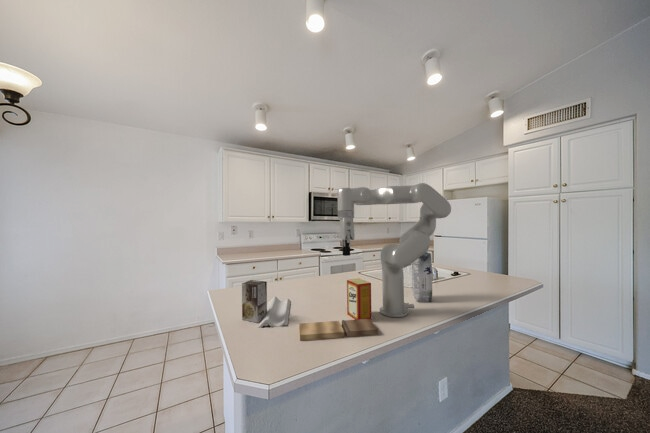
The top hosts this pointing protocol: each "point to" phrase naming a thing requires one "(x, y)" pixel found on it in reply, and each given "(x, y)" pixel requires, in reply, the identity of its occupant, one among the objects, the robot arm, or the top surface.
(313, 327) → the oak plank
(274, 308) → the crown molding
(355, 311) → the baking soda box
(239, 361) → the top surface
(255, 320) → the coffee box
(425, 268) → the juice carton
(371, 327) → the walnut board
